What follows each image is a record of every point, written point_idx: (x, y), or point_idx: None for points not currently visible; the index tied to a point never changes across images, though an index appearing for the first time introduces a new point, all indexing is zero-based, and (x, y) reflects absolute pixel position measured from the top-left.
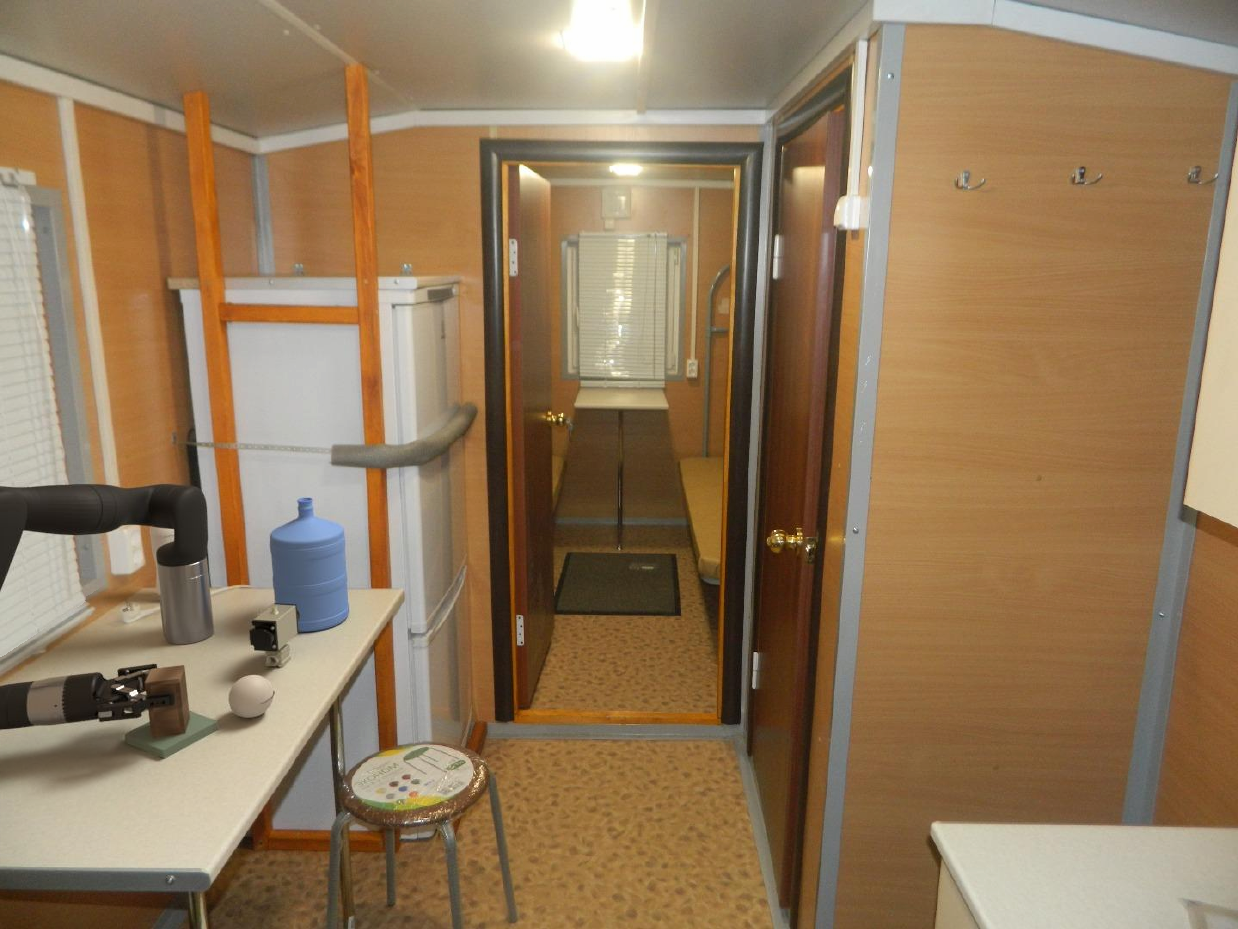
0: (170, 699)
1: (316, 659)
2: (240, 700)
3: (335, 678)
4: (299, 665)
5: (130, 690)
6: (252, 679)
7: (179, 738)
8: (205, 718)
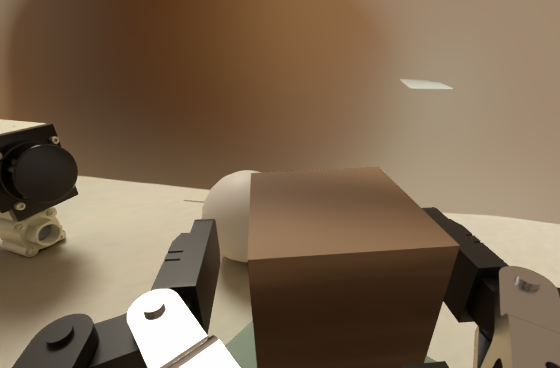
0: None
1: (84, 205)
2: None
3: (175, 187)
4: (85, 219)
5: (542, 348)
6: (255, 172)
7: None
8: None
